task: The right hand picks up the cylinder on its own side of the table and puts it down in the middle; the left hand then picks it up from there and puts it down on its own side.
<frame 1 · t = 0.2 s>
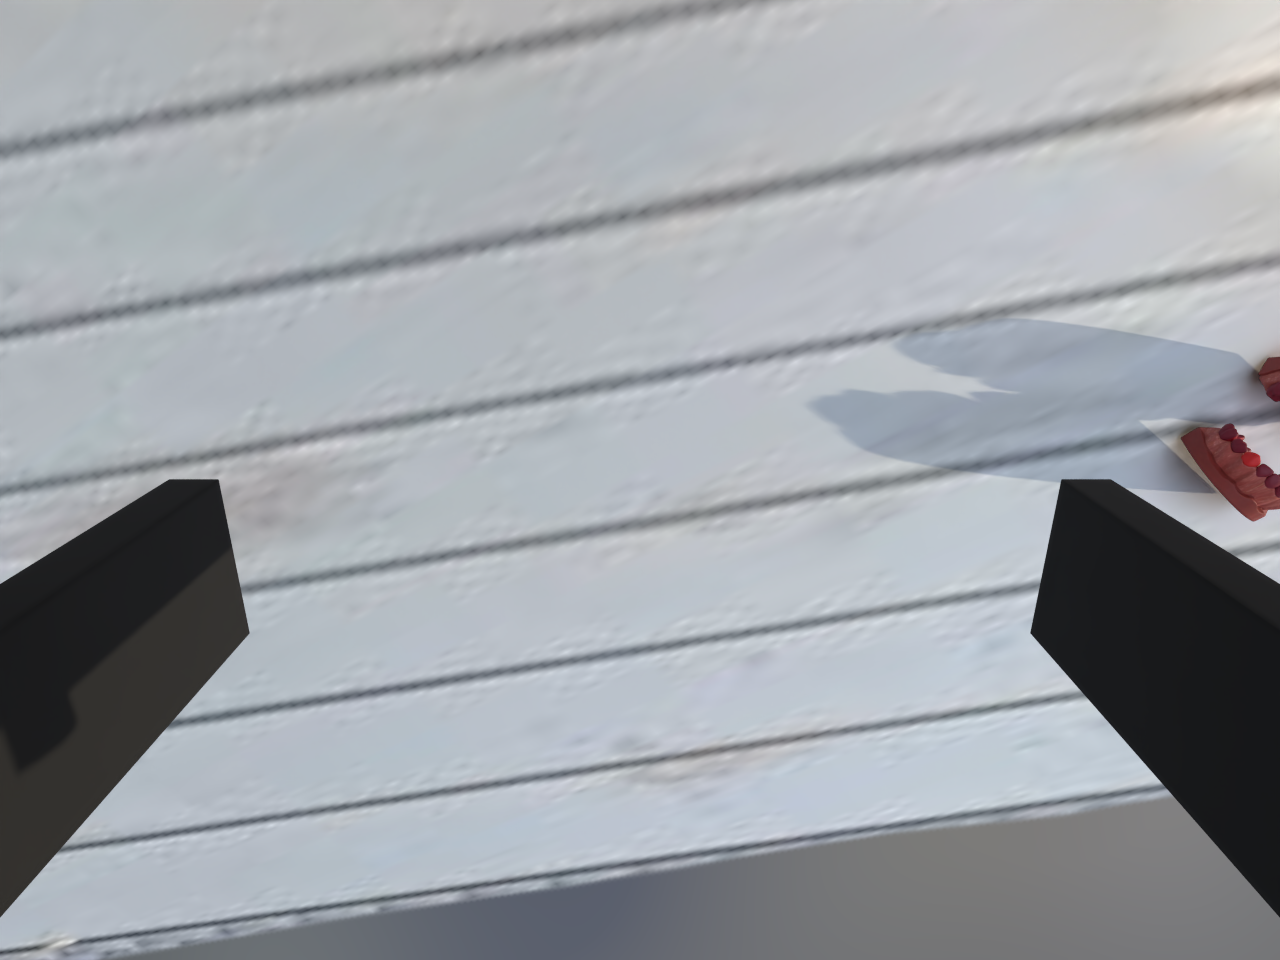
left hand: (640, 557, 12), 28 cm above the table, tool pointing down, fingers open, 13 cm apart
dental model: (1253, 429, 41), on the table
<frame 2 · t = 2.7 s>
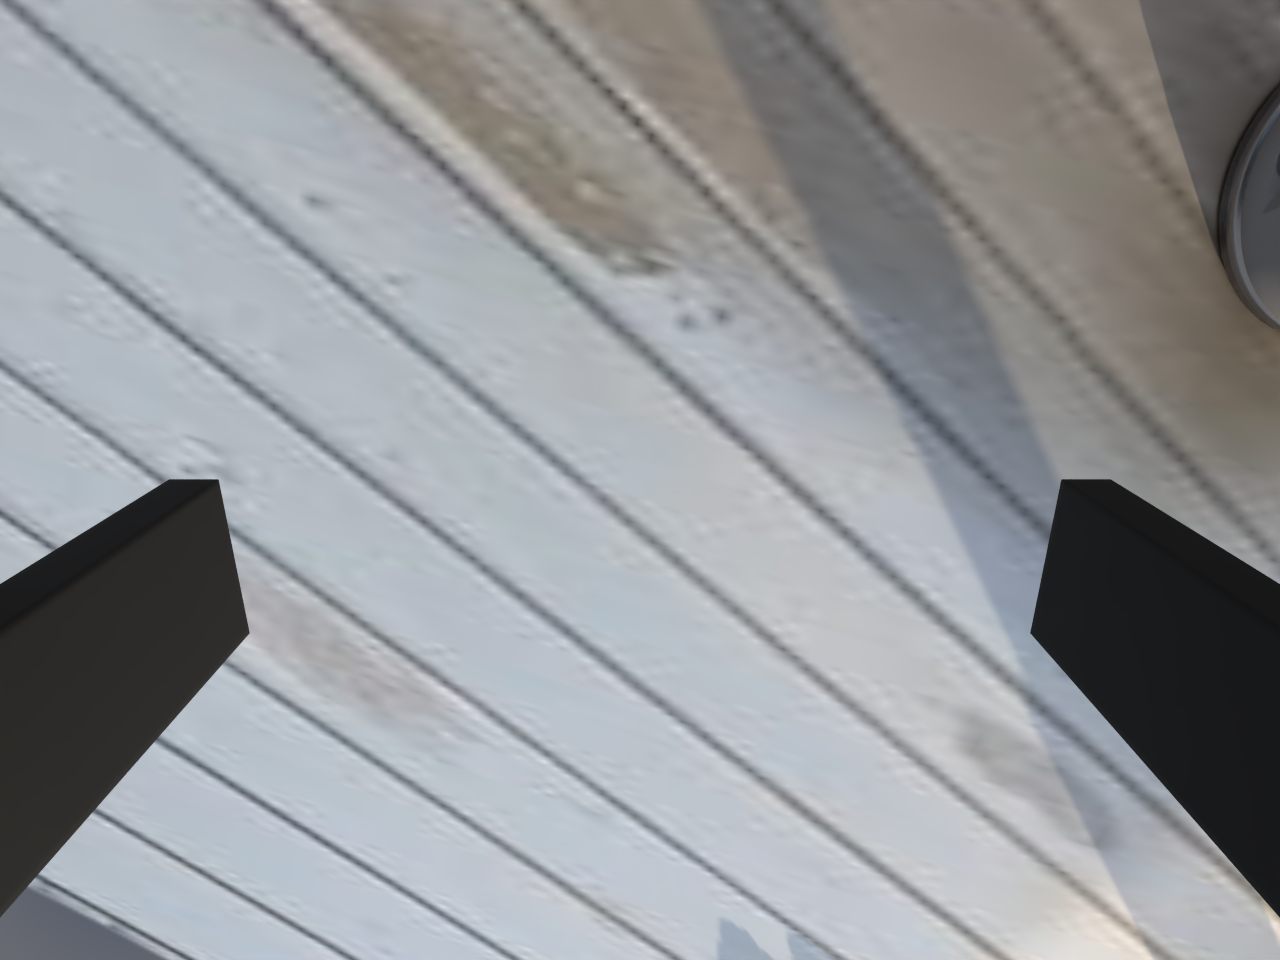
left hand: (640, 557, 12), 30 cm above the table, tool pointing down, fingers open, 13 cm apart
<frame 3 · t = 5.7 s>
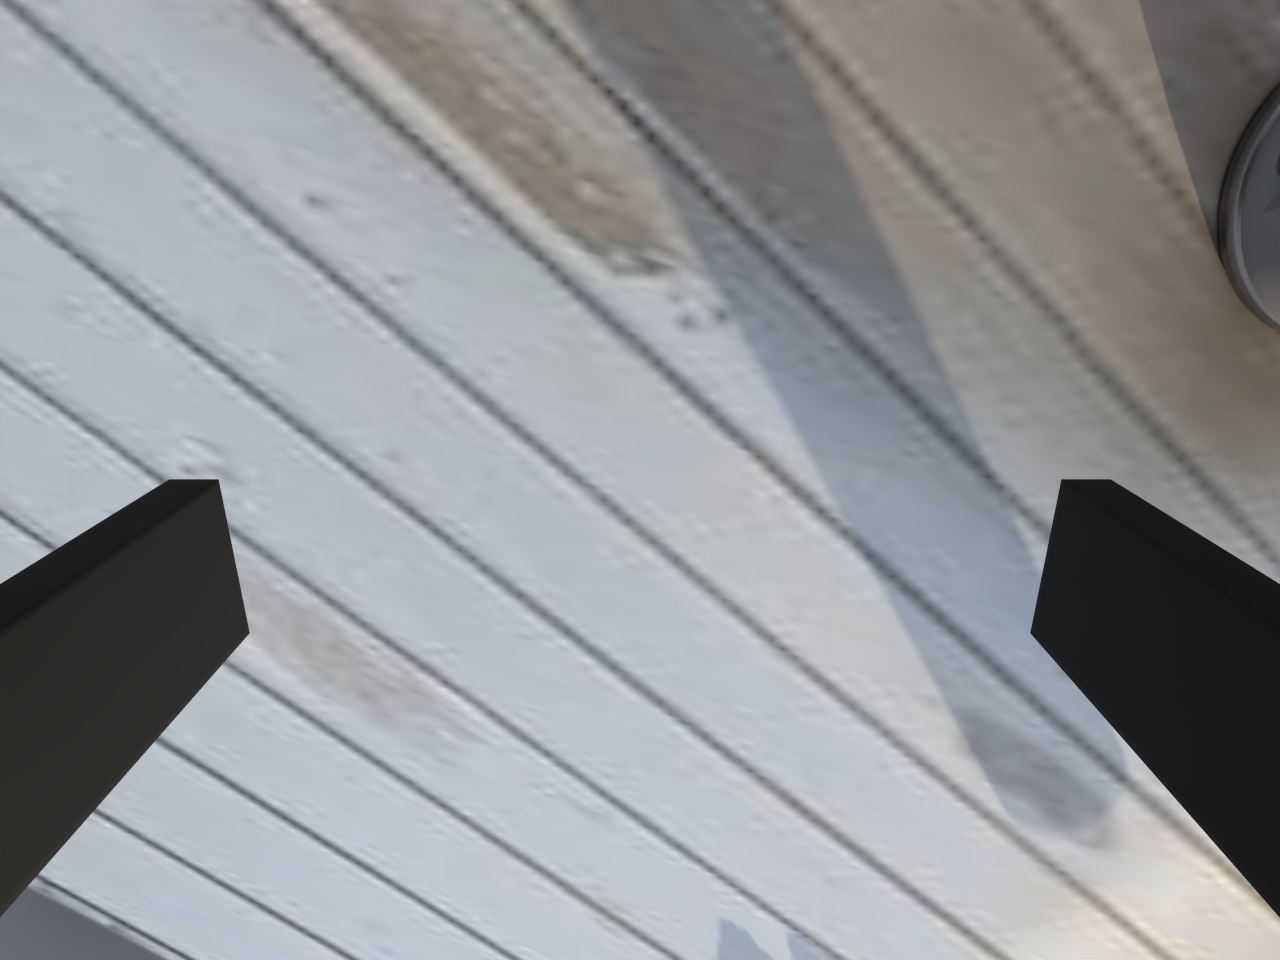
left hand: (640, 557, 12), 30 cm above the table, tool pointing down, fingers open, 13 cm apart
when the right hand's fingers open (4 cm above the table, at t = 9.0 s): cylinder drops 1 cm, on the table.
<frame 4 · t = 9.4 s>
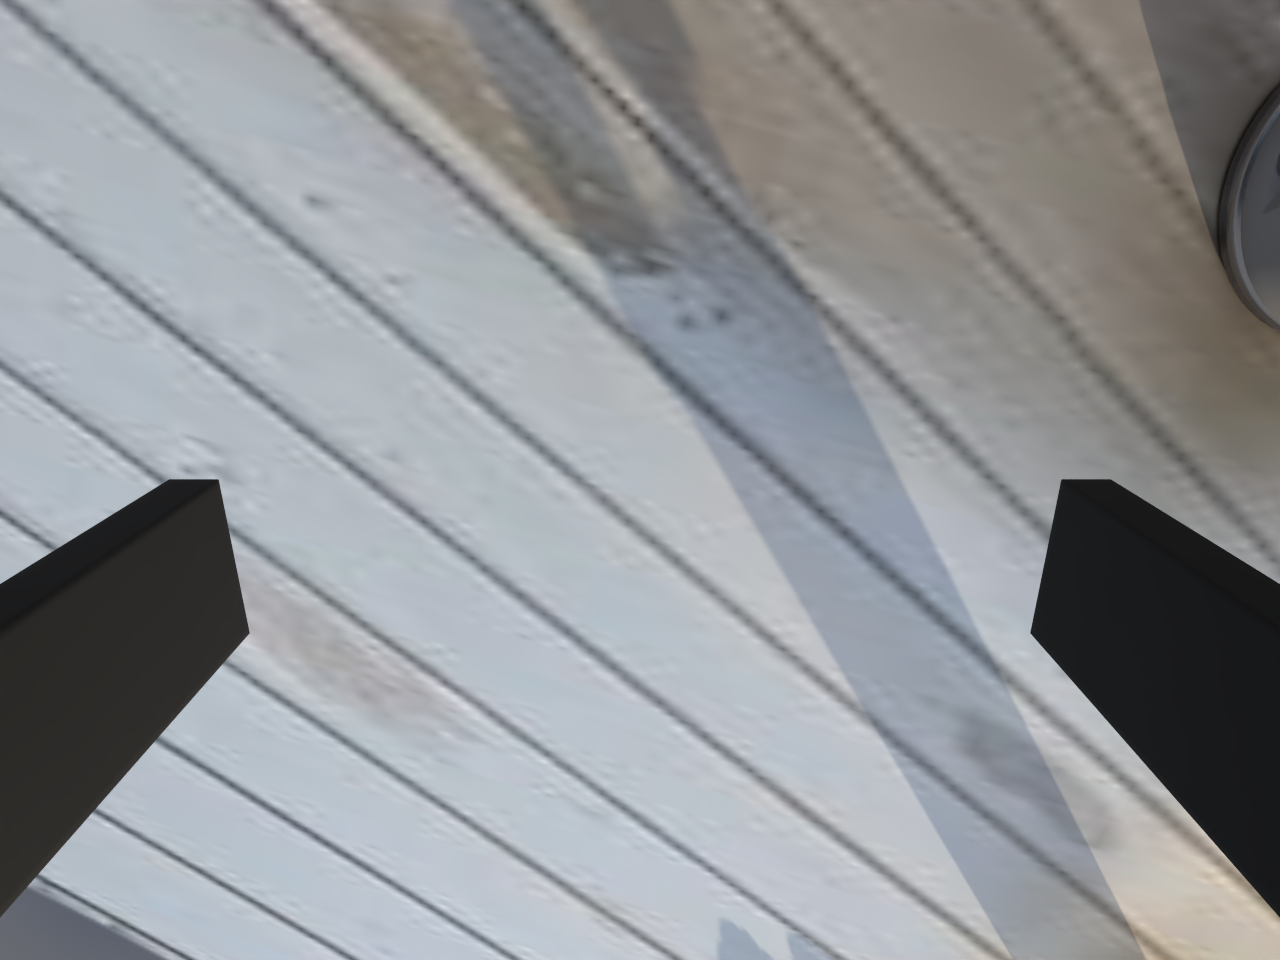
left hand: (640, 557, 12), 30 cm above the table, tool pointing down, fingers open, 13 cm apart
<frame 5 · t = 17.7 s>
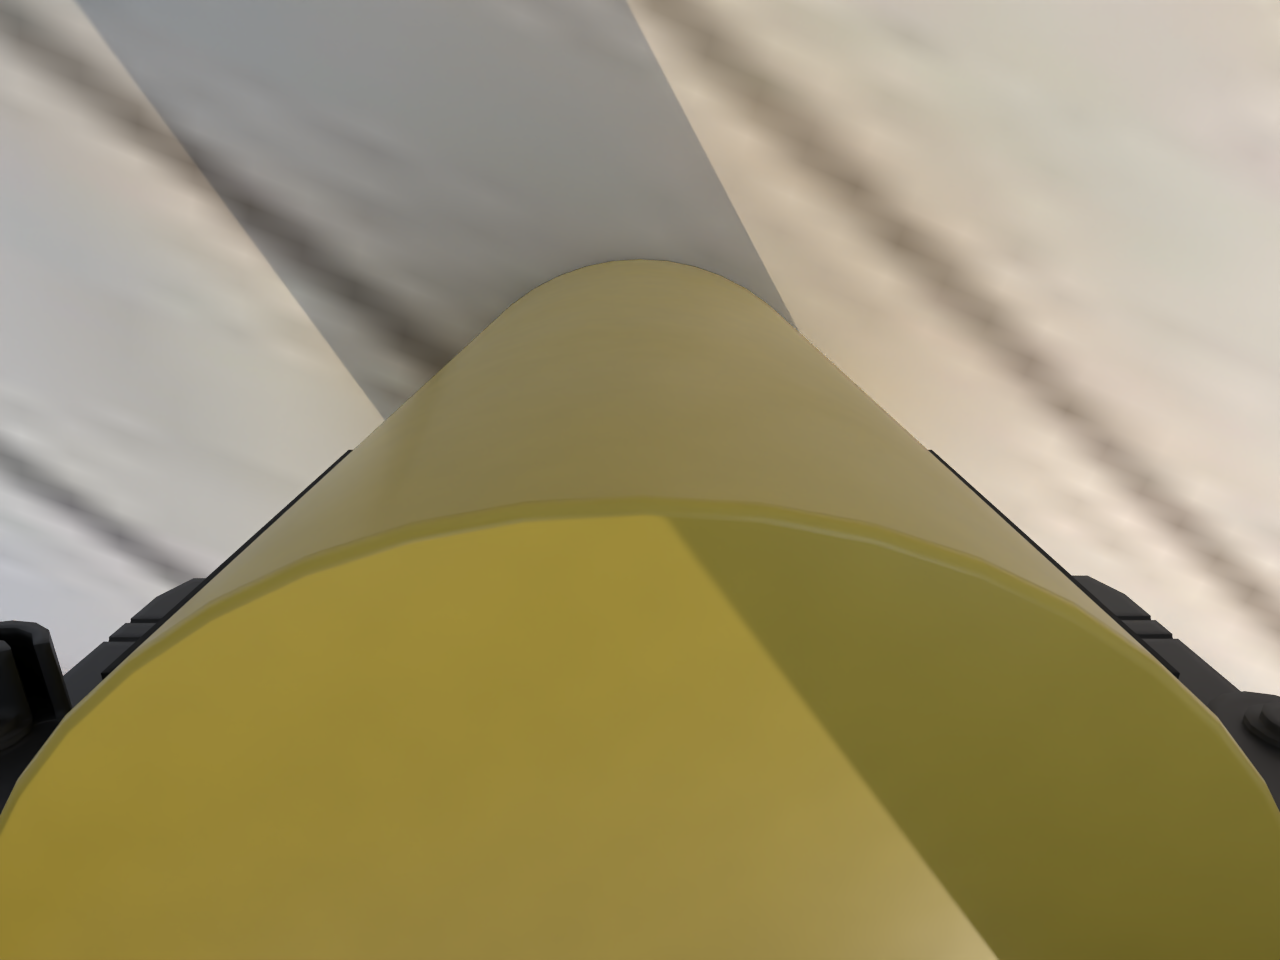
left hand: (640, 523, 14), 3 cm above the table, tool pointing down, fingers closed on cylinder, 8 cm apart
cylinder: (640, 460, 17), on the table, touching left hand
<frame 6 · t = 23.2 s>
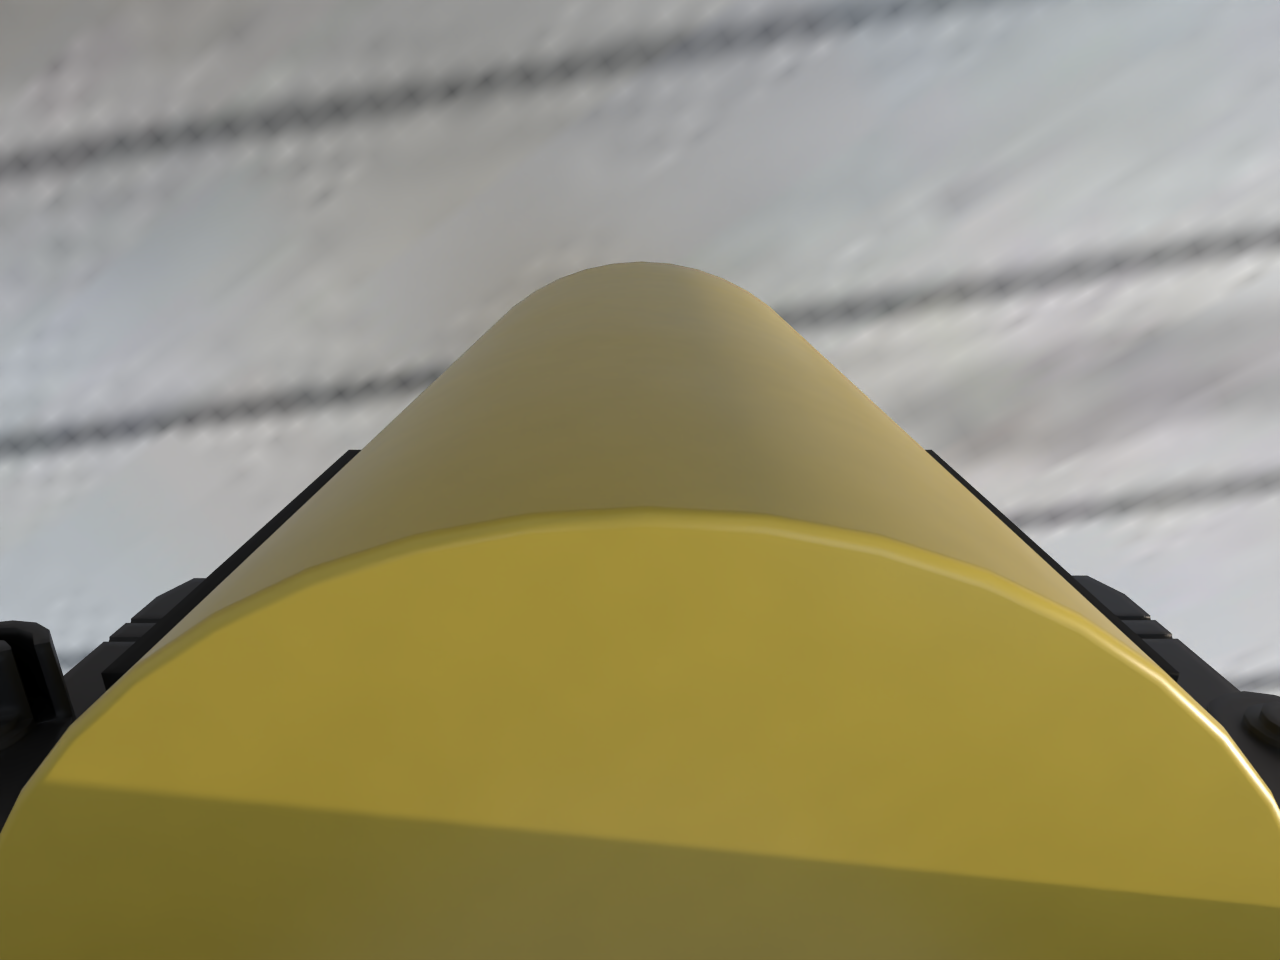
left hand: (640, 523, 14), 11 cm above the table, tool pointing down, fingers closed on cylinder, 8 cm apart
cylinder: (641, 462, 17), point 8 cm above the table, touching left hand
when the left hand's fingers open (4 cm above the table, at t = 28.9 s): cylinder drops 1 cm, on the table.
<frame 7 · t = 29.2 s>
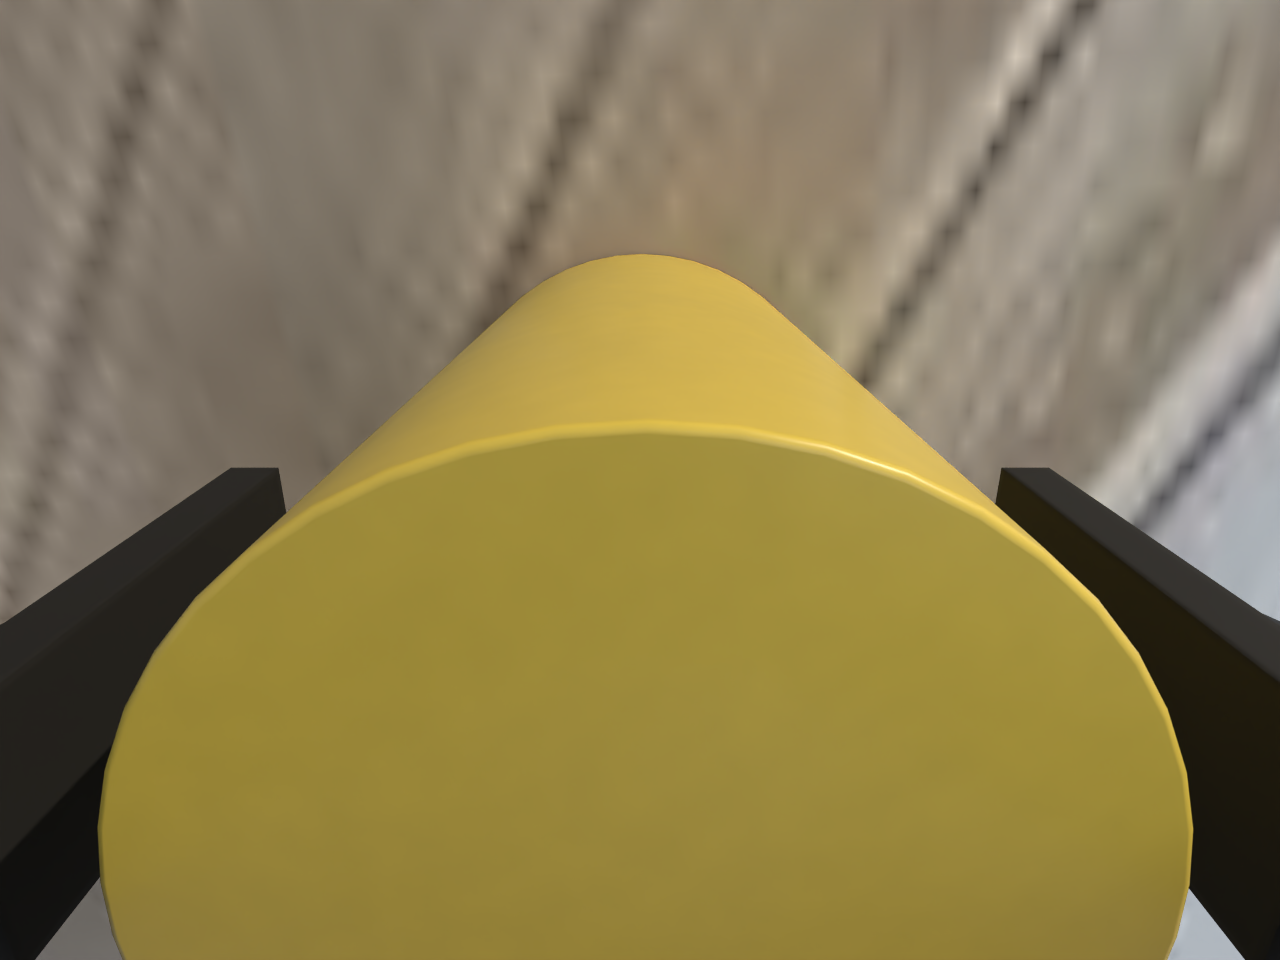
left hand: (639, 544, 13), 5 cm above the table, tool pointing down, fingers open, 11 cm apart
cylinder: (641, 443, 18), on the table
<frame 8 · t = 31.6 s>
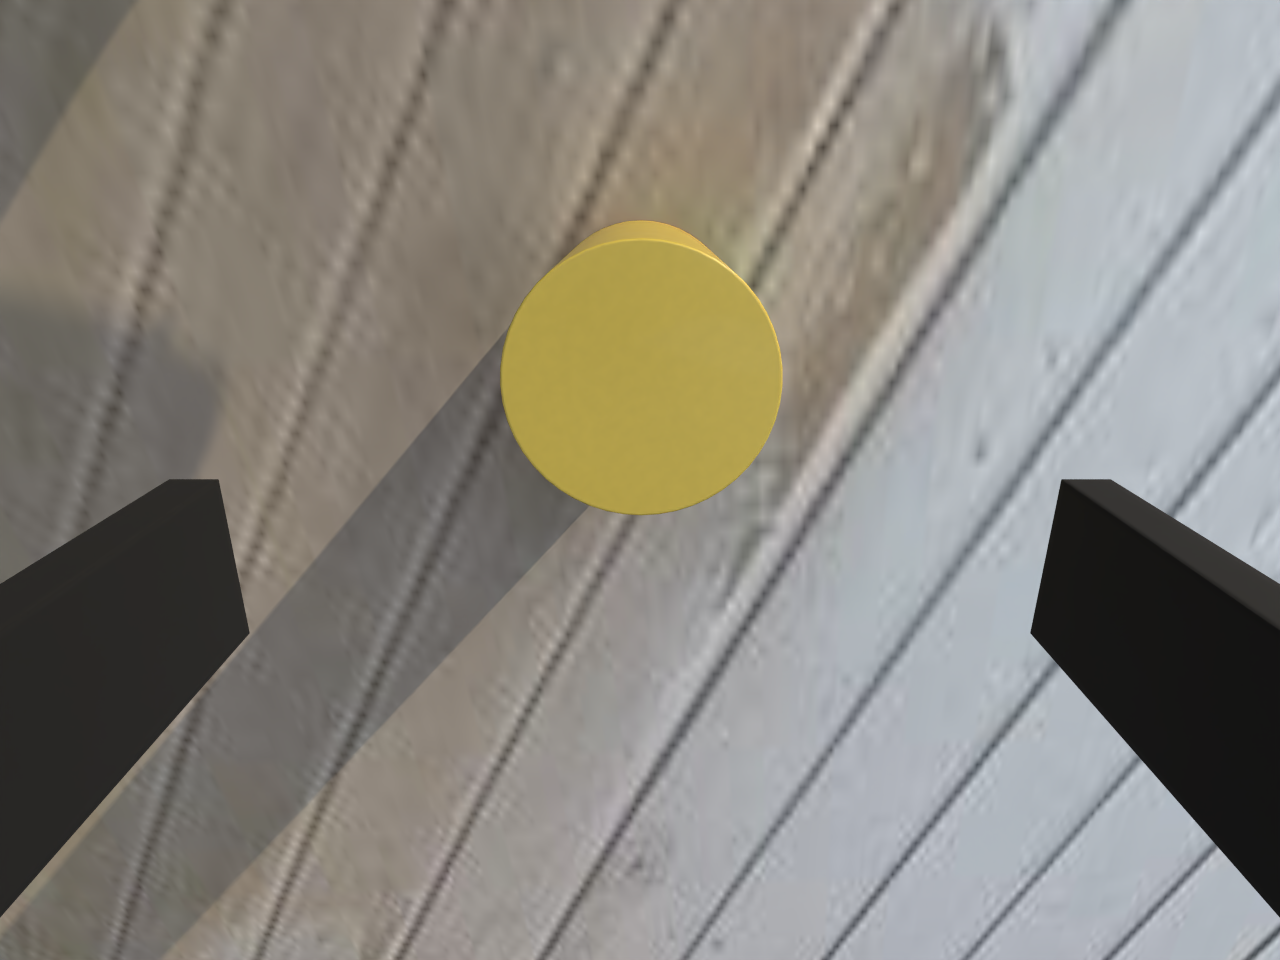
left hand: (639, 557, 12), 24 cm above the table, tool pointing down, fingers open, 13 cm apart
cylinder: (640, 318, 35), on the table
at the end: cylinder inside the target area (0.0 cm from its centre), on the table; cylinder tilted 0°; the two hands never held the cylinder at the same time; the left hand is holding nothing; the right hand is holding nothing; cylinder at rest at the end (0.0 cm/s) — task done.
